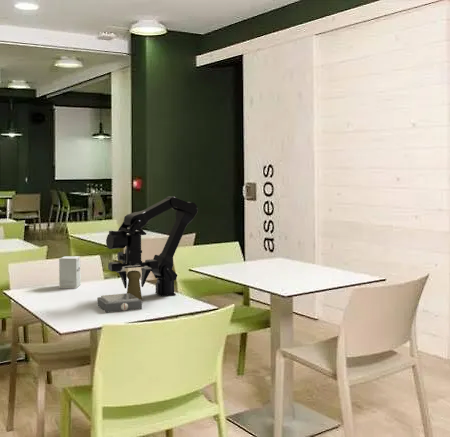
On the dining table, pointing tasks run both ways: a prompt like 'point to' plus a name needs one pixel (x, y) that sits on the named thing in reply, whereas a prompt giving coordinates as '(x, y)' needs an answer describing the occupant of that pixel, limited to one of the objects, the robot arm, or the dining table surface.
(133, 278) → the cork
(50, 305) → the dining table surface
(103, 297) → the kitchen scale
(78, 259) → the supplement box
